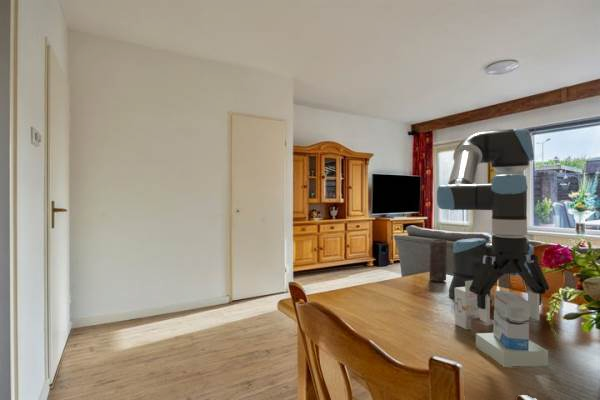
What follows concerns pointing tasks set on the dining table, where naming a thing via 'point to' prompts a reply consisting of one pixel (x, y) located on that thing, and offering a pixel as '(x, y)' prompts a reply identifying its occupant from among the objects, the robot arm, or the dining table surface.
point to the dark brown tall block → (438, 260)
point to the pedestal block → (511, 352)
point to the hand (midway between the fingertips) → (509, 319)
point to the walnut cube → (481, 326)
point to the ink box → (511, 320)
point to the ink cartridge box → (465, 306)
